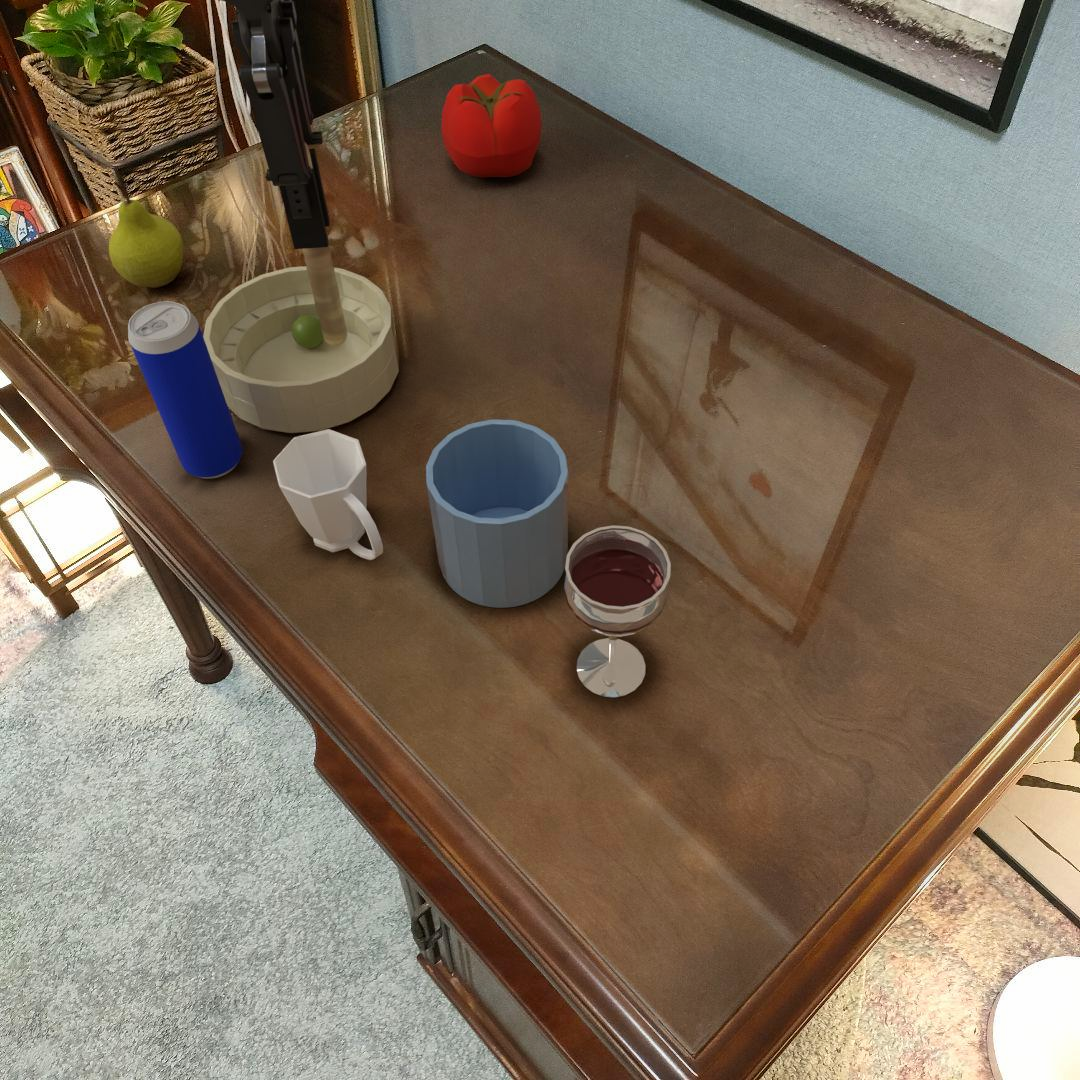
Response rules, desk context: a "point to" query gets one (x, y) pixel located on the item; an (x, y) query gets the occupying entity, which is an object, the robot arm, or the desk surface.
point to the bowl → (301, 352)
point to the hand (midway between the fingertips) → (312, 234)
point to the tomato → (491, 127)
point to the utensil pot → (499, 511)
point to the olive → (307, 331)
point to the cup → (329, 490)
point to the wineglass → (615, 602)
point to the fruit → (145, 246)
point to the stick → (325, 290)
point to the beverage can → (185, 388)
